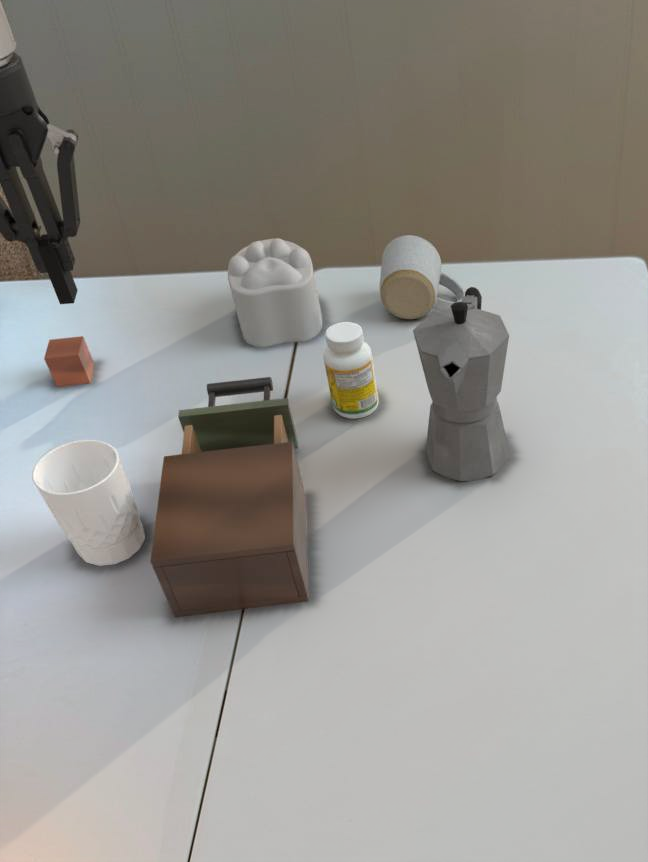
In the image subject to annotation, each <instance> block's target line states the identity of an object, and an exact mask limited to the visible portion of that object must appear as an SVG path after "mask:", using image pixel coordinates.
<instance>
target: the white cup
mask: <svg viewBox="0 0 648 862" xmlns="http://www.w3.org/2000/svg"><path fill="white" fill-rule="evenodd" d="M31 478H32V481H33V484H34V486H35V487H36V490H37V491H38V493H39V494H40V496H41V497H42V499H43V501H44V502H45V505H46V506H47V507H48V509H49V511H50V513H51V514H52V515H53V517H54V519H55V520H56V522H57V524H58V525H59V527H60V528H61V530H62V532H63V534H64V535H65V537H66V538H67V539H68V540H69V542H70V543H71V544H72V546H73V548H74V549H75V551H76V553H77V554H78V556H80V558H81V559H82V560H83V561H84V562H86V563H87V564H90V565H91V564H92V565H94V566H99V567H102V566H112V565H116V564H119V563H121V562H124V561H126V560H128V559H130V558H131V557H133V556H134V555H135V554H136V553H137V552H138V551H139V550H141V548H142V547H143V544H144V542H145V540H146V535H145V529H144V525H143V522H142V521H141V517H140V513H139V510H138V506H137V503H136V501H135V497H134V495H133V492H132V491H133V490H132V488H131V485H130V483H129V479H128V477H127V474H126V472H125V469H124V466H123V464H122V461H121V459H120V456H119V453H118V451H117V450H116V448H115V447H114V446H112V445H111V444H109V443H108V442H105V441H102V440H97V439H79V440H74V441H73V440H72V441H70V442H69V441H68V442H66V443H63V444H61V445H59V446H57V447H56V446H55V448H53V449H51V450H50V451H48V452H46V453H45V454H44V455H43V456H41V457H40V459H39V460H38V461H37V462H36V464H35V465H34V467H33V470H32V474H31Z"/></svg>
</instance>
